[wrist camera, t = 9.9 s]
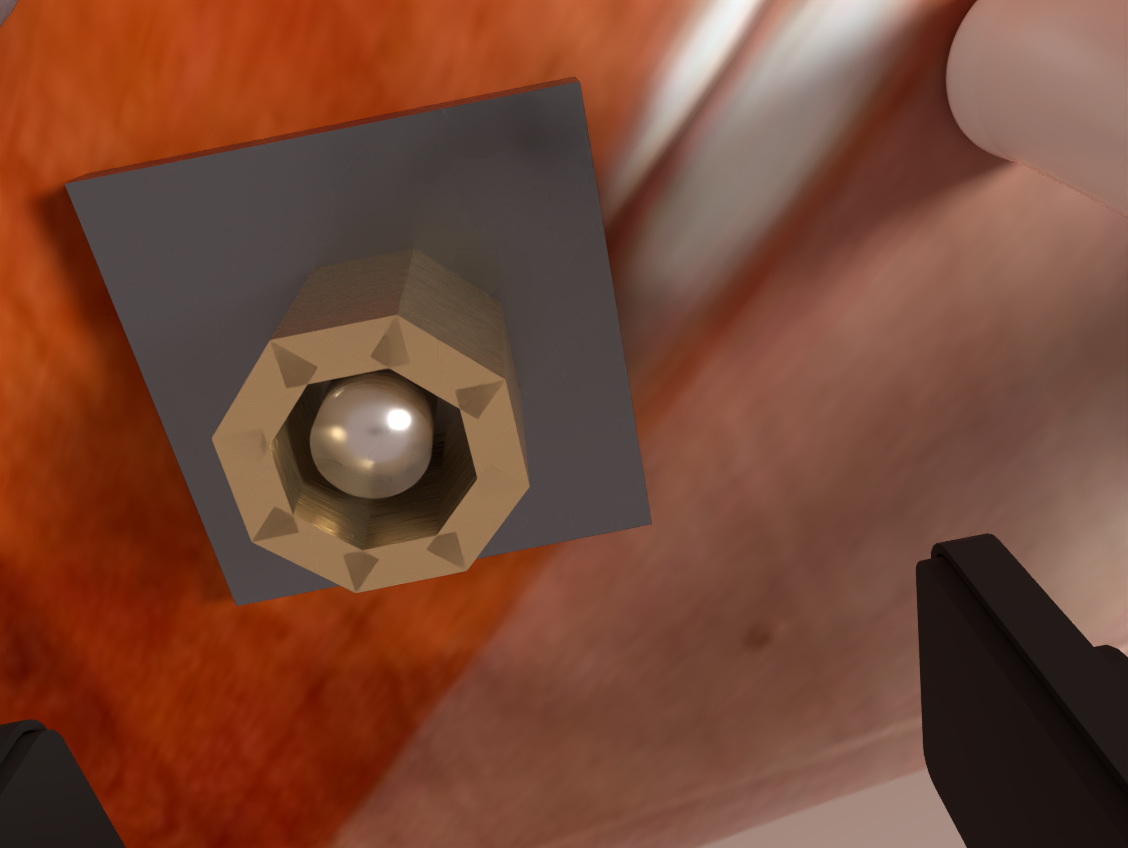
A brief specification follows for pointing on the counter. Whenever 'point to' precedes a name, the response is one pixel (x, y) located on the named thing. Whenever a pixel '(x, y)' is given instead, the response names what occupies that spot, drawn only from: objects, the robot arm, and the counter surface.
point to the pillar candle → (6, 9)
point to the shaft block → (366, 229)
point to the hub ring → (419, 353)
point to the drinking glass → (1047, 89)
